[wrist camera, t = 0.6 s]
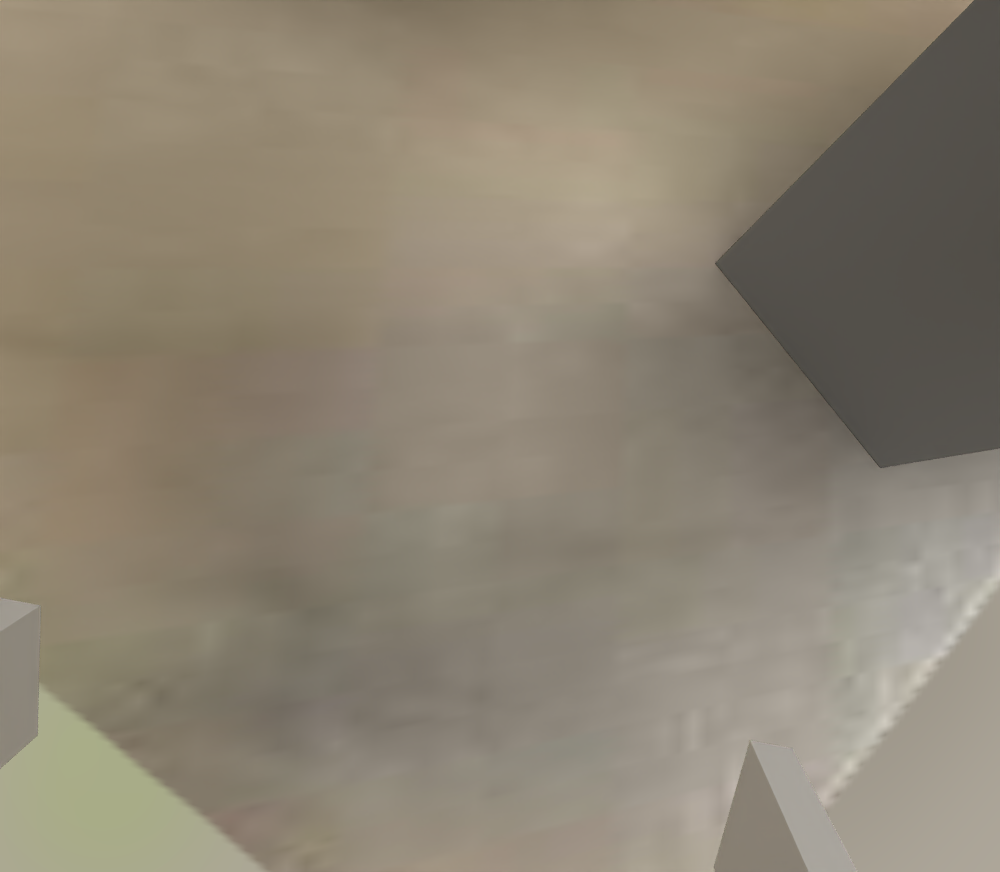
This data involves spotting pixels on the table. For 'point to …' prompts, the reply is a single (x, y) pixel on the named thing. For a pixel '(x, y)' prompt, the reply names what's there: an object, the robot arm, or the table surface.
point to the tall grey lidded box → (898, 257)
